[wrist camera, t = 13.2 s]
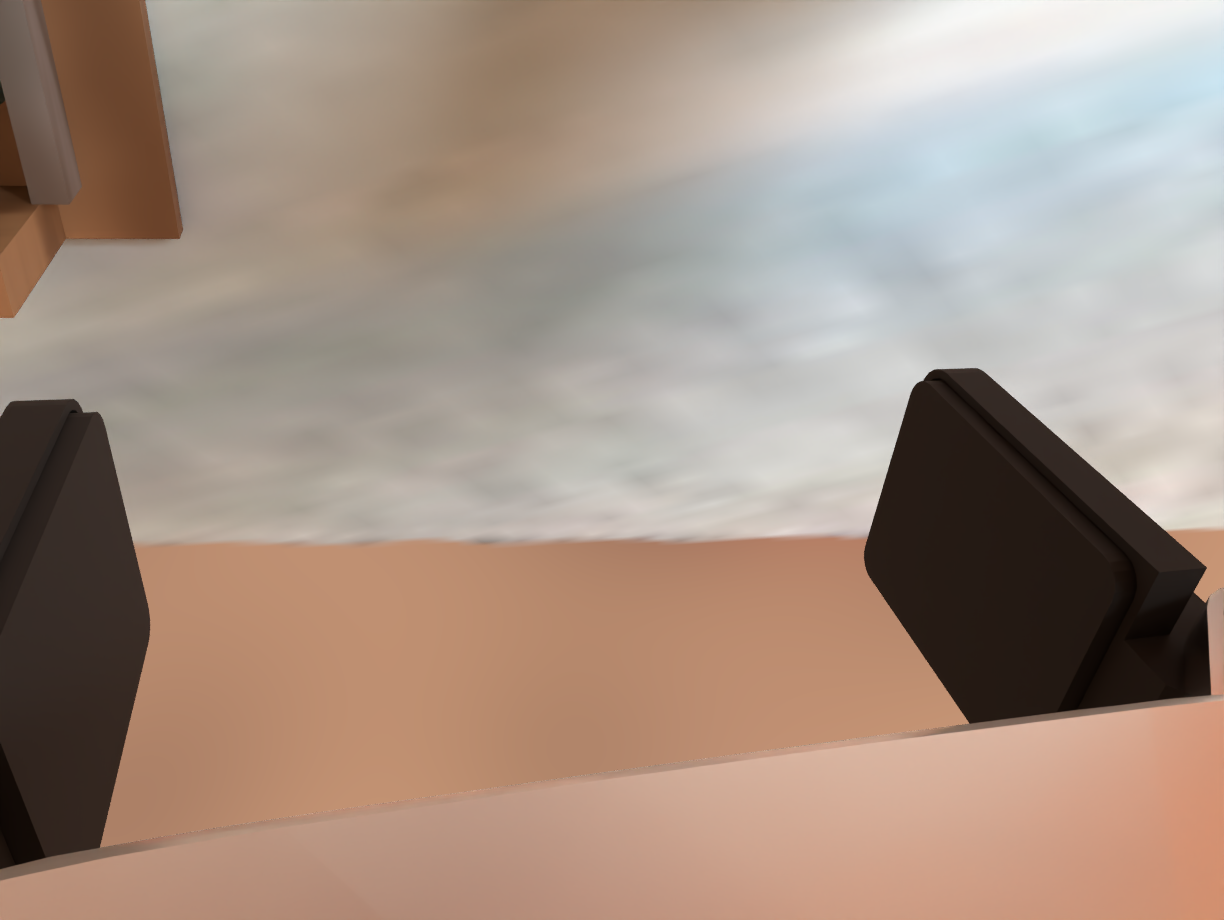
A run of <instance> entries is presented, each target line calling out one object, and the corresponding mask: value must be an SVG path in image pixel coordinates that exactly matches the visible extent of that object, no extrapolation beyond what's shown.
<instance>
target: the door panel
mask: <svg viewBox="0 0 1224 920" xmlns="http://www.w3.org/2000/svg"><path fill="white" fill-rule="evenodd" d="M4 101H5V97H4V93H3V89H2V85H1V81H0V104H2V103H3V102H4Z"/></svg>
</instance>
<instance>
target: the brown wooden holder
mask: <svg viewBox="0 0 1224 920" xmlns="http://www.w3.org/2000/svg"><path fill="white" fill-rule="evenodd" d="M0 81H1V85H2V89H3V93H4V97H5V101H4V102H3V103H2V104H0V318H14V317H15V315H16V314H17V312H18V311H19V309H20V308H21V306H22V305H23V303H24V302H25V300H26V299H27V297H28V296H29V294H30V293H31V291H32V289H33V288H34V286H35V285H36V283H37V282H38V280H39V279H40V277H41V276H42V274H43V273H44V271H45V270H46V268H47V267H48V265H49V264H50V262H51V261H52V259H53V257H54V256H55V254H56V253H57V251H58V250H59V248H60V247H61V245H62V244H63V242H64V241H65V239H66V238H87V239H180V236H181V233H182V231H183V227H182V221H181V215H180V208H179V202H178V196H177V190H176V184H175V178H174V172H173V166H172V160H171V154H170V148H169V142H168V136H167V130H166V124H165V118H164V112H163V106H162V100H161V94H160V88H159V82H158V76H157V70H156V64H155V58H154V51H153V45H152V39H151V33H150V27H149V21H148V15H147V9H146V3H145V0H0Z"/></svg>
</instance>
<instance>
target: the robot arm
mask: <svg viewBox="0 0 1224 920" xmlns="http://www.w3.org/2000/svg"><path fill="white" fill-rule="evenodd" d="M864 561H865V567H866V570H867V573H868V575H869V577H870V578H871V580H872V581H873V583H874V584H875V585H876V587H877V588H878V590H879V592H880V593H881V594H882V596H883V597H884V599H885V600H886V602H887V603H888V605H889V606H890V608H891V609H892V611H893V612H894V613H895V615H896V616H897V618H898V619H899V621H900V622H901V624H902V625H903V627H904V628H905V629H906V631H907V632H908V634H909V635H910V637H911V638H912V640H913V641H914V643H915V644H916V646H917V647H918V648H919V650H920V651H921V653H922V654H923V656H924V657H925V659H926V660H927V662H928V663H929V665H930V666H931V667H932V669H933V671H934V672H935V673H936V675H937V676H938V678H939V679H940V681H941V682H942V683H943V685H944V687H945V688H946V690H947V691H948V692H949V694H950V695H951V697H952V698H953V700H954V701H955V703H956V704H957V706H958V707H959V709H960V710H961V711H962V713H963V714H964V716H965V717H966V719H967V720H968V722H969V723H970V724H965V725H956V726H949V727H941V728H933V729H926V730H918V731H910V732H902V733H894V734H886V735H879V736H872V737H864V738H856V739H849V740H842V741H834V742H827V743H819V744H811V745H804V746H796V747H789V748H781V749H774V750H767V751H759V752H751V753H744V754H736V755H729V756H722V757H714V758H707V759H700V760H692V761H685V762H678V763H670V764H663V765H655V766H648V767H640V768H633V769H626V770H618V771H611V772H604V773H596V774H590V775H582V776H575V777H568V778H561V779H554V780H546V781H540V782H532V783H525V784H518V785H511V786H504V787H497V788H489V789H482V790H476V791H468V792H462V793H454V794H447V795H440V796H432V797H425V798H418V799H411V800H404V801H397V802H389V803H382V804H375V805H368V806H361V807H354V808H347V809H339V810H333V811H326V812H320V813H313V814H307V815H299V816H292V817H286V818H279V819H273V820H266V821H259V822H252V823H246V824H239V825H232V826H226V827H219V828H213V829H206V830H201V831H194V832H189V833H183V834H176V835H170V836H164V837H158V838H152V839H147V840H141V841H136V842H130V843H124V844H119V845H113V846H108V847H102V848H100V844H101V840H102V836H103V832H104V827H105V823H106V819H107V815H108V810H109V806H110V802H111V797H112V793H113V789H114V785H115V781H116V777H117V773H118V769H119V764H120V760H121V756H122V752H123V747H124V743H125V739H126V735H127V731H128V726H129V722H130V718H131V713H132V710H133V705H134V701H135V697H136V693H137V688H138V684H139V680H140V675H141V672H142V668H143V663H144V659H145V655H146V651H147V647H148V642H149V635H150V616H149V608H148V603H147V599H146V595H145V591H144V587H143V582H142V578H141V574H140V570H139V566H138V562H137V558H136V553H135V549H134V545H133V541H132V537H131V532H130V528H129V524H128V520H127V516H126V512H125V507H124V503H123V499H122V495H121V491H120V487H119V483H118V478H117V474H116V470H115V466H114V462H113V458H112V453H111V449H110V445H109V441H108V437H107V433H106V428H105V425H104V422H103V419H102V417H101V415H100V414H99V413H98V412H89V413H83V411H82V409H81V407H80V405H79V403H78V402H77V401H76V400H75V399H63V400H33V401H13V402H10V403H9V405H8V406H7V407H6V409H5V410H4V412H3V414H2V416H1V417H0V920H1224V588H1220V589H1218V590H1217V591H1216V592H1214V593H1213V594H1211V595H1210V596H1209V598H1208V600H1207V602H1206V603H1205V602H1203V601H1202V600H1201V599H1200V598H1199V597H1198V596H1197V595H1196V594H1195V593H1194V590H1195V588H1196V586H1197V585H1198V583H1199V581H1200V579H1201V578H1202V576H1203V574H1204V572H1205V570H1206V569H1207V567H1206V566H1204V565H1203V564H1202V563H1201V562H1200V561H1199V560H1198V559H1196V558H1195V557H1194V556H1193V555H1192V554H1191V553H1190V552H1188V551H1187V550H1186V549H1185V548H1184V547H1183V546H1182V545H1181V544H1179V543H1178V542H1177V541H1176V540H1175V539H1174V538H1173V537H1171V536H1170V535H1169V534H1168V533H1167V532H1166V531H1165V530H1164V529H1162V528H1161V527H1160V526H1159V525H1158V524H1157V523H1156V522H1154V521H1153V520H1152V519H1151V518H1150V517H1149V516H1148V515H1146V514H1145V513H1144V512H1143V511H1142V510H1141V509H1140V508H1138V507H1137V506H1136V505H1135V504H1134V503H1133V502H1132V501H1131V500H1129V499H1128V498H1127V497H1126V496H1125V495H1124V494H1123V493H1121V492H1120V491H1119V490H1118V489H1117V488H1116V487H1115V486H1113V485H1112V484H1111V483H1110V482H1109V481H1108V480H1107V479H1105V478H1104V477H1103V476H1102V475H1101V474H1100V473H1099V472H1098V471H1096V470H1095V469H1094V468H1093V467H1092V466H1091V465H1090V464H1088V463H1087V462H1086V461H1085V460H1084V459H1083V458H1082V457H1080V456H1079V455H1078V454H1077V453H1076V452H1075V451H1074V450H1073V449H1071V448H1070V447H1069V446H1068V445H1067V444H1066V443H1065V442H1063V441H1062V440H1061V439H1060V438H1059V437H1058V436H1057V435H1055V434H1054V433H1053V432H1052V431H1051V430H1050V429H1049V428H1047V427H1046V426H1045V425H1044V424H1043V423H1042V422H1041V421H1040V420H1038V419H1037V418H1036V417H1035V416H1034V415H1033V414H1032V413H1030V412H1029V411H1028V410H1027V409H1026V408H1025V407H1024V406H1022V405H1021V404H1020V403H1019V402H1018V401H1017V400H1016V399H1014V398H1013V397H1012V396H1011V395H1010V394H1009V393H1008V392H1007V391H1005V390H1004V389H1003V388H1002V387H1001V386H1000V385H999V384H997V383H996V382H995V381H994V380H993V379H992V378H991V377H989V376H988V375H987V374H986V373H985V372H984V371H982V370H980V369H978V368H965V369H936V370H933V371H931V372H929V373H928V375H927V376H926V377H925V378H924V381H921V382H919V383H917V384H916V385H915V386H914V388H913V390H912V392H911V394H910V398H909V401H908V405H907V408H906V411H905V415H904V418H903V421H902V425H901V428H900V431H899V435H898V438H897V442H896V445H895V448H894V452H893V455H892V458H891V462H890V465H889V468H888V472H887V475H886V478H885V482H884V485H883V489H882V492H881V495H880V499H879V502H878V505H877V509H876V512H875V515H874V519H873V522H872V526H871V529H870V532H869V536H868V539H867V542H866V546H865V551H864Z"/></svg>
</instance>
